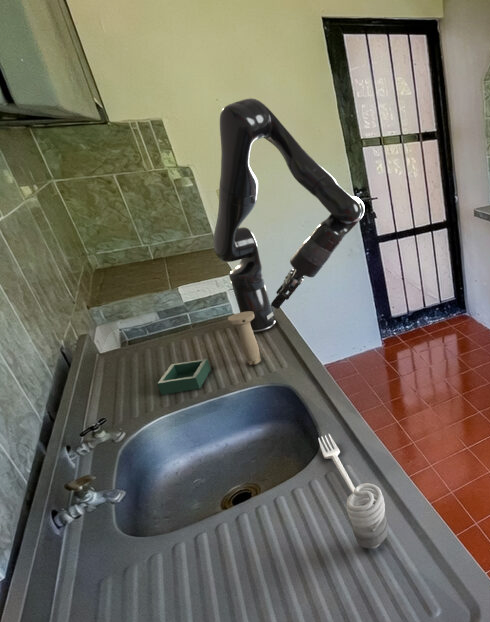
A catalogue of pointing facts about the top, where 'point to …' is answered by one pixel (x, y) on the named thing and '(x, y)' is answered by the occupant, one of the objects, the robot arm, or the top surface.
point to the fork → (335, 459)
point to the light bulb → (368, 515)
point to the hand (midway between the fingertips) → (276, 300)
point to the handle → (246, 335)
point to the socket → (184, 376)
